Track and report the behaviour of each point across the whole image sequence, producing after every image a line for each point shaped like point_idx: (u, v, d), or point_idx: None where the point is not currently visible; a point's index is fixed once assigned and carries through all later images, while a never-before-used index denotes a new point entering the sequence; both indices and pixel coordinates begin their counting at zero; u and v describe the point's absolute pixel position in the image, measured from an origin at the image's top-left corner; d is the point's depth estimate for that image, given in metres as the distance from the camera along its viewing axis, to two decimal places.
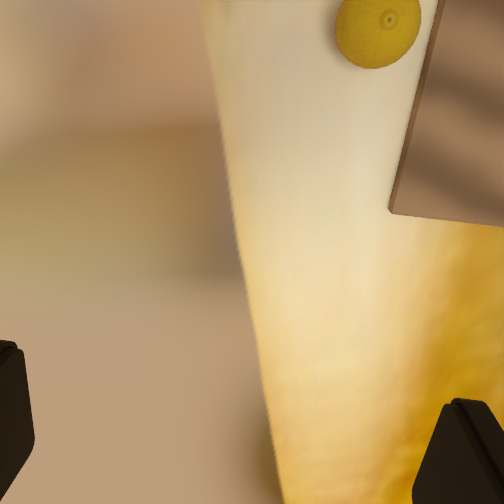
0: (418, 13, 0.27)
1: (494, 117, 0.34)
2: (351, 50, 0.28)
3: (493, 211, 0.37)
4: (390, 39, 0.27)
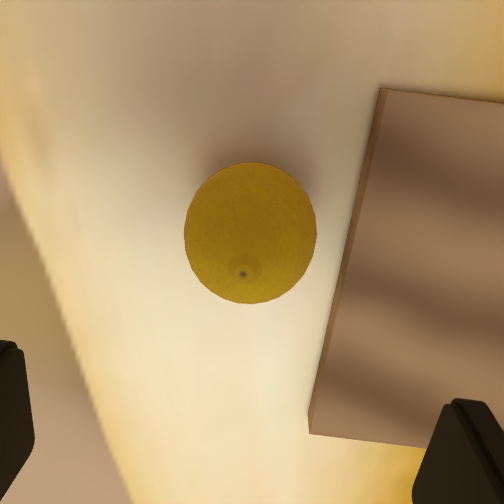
0: (302, 246, 0.16)
1: (449, 328, 0.23)
2: (202, 282, 0.17)
3: None
4: (254, 292, 0.16)
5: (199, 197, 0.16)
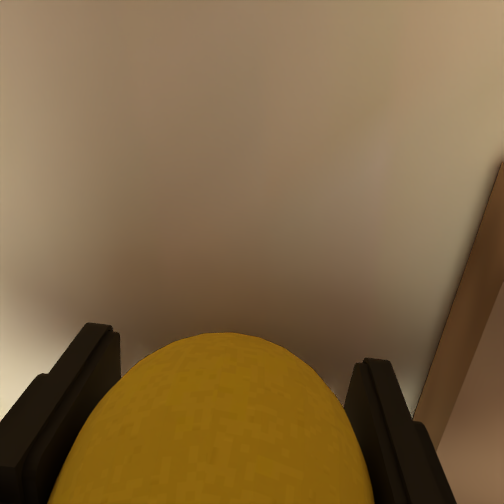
0: None
1: None
2: None
3: None
4: None
5: (66, 487, 0.06)
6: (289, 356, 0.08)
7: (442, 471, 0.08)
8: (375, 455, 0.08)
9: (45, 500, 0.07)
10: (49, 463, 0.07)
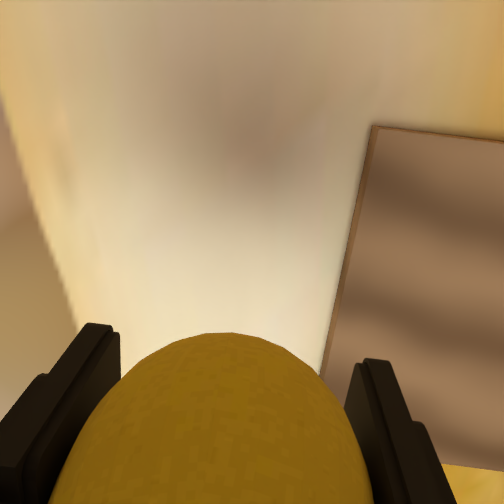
0: None
1: (439, 344, 0.24)
2: None
3: (445, 448, 0.27)
4: None
5: (67, 487, 0.06)
6: (289, 356, 0.08)
7: (442, 471, 0.08)
8: (375, 455, 0.08)
9: (45, 500, 0.07)
10: (49, 463, 0.07)
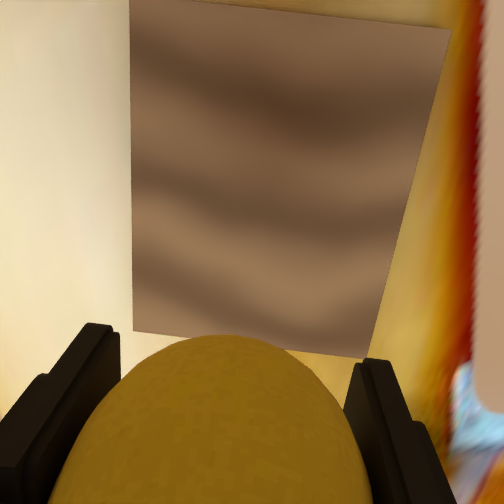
0: None
1: (230, 220, 0.26)
2: None
3: (257, 330, 0.28)
4: None
5: (65, 490, 0.06)
6: (288, 358, 0.08)
7: (442, 471, 0.08)
8: (375, 455, 0.08)
9: (45, 500, 0.07)
10: (49, 463, 0.07)
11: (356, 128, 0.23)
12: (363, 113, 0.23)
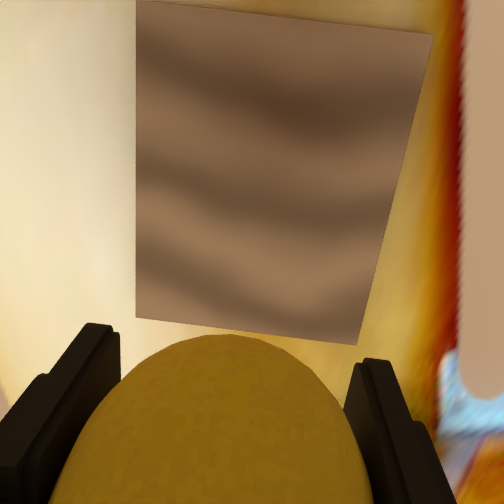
0: None
1: (228, 211, 0.27)
2: None
3: (253, 317, 0.30)
4: None
5: (66, 490, 0.06)
6: (289, 358, 0.08)
7: (442, 471, 0.08)
8: (375, 455, 0.08)
9: (45, 500, 0.07)
10: (49, 463, 0.07)
11: (346, 125, 0.25)
12: (353, 111, 0.24)
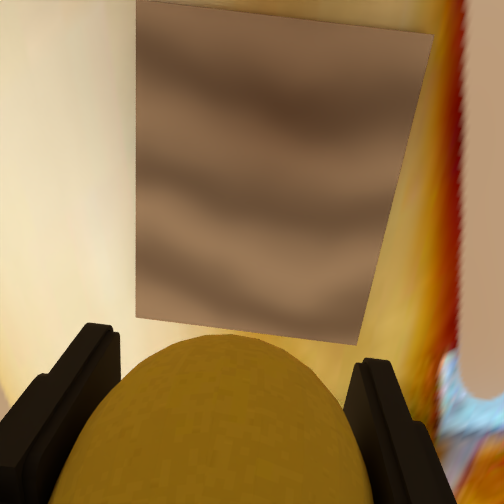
0: None
1: (228, 211, 0.27)
2: None
3: (253, 317, 0.30)
4: None
5: (66, 490, 0.06)
6: (289, 358, 0.08)
7: (442, 471, 0.08)
8: (375, 455, 0.08)
9: (45, 500, 0.07)
10: (49, 463, 0.07)
11: (346, 125, 0.25)
12: (353, 111, 0.24)
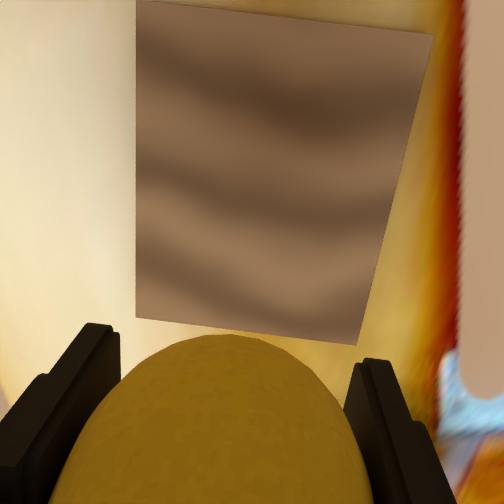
0: None
1: (228, 211, 0.27)
2: None
3: (253, 317, 0.30)
4: None
5: (66, 490, 0.06)
6: (289, 358, 0.08)
7: (442, 471, 0.08)
8: (375, 455, 0.08)
9: (45, 500, 0.07)
10: (49, 463, 0.07)
11: (346, 125, 0.25)
12: (353, 111, 0.24)
